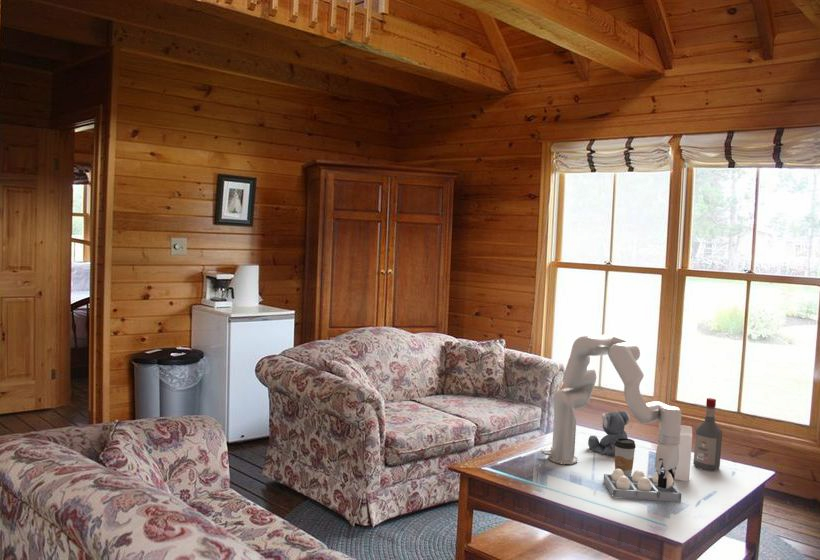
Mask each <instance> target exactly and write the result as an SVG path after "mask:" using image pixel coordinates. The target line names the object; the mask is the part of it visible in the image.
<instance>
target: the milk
mask: <svg viewBox="0 0 820 560" xmlns="http://www.w3.org/2000/svg"><path fill="white" fill-rule="evenodd" d="M692 444H693V427H692V426H690V425H682V424H681V428H680V443H679V461H678V466H677V467H676V470H675V479H674V481H675V480H677V481H682V482H690V475H691V474H690V472H691V458H692V446H693V445H692Z"/></svg>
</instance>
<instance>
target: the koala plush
mask: <svg viewBox="0 0 820 560" xmlns="http://www.w3.org/2000/svg"><path fill="white" fill-rule="evenodd" d="M601 419H602V429H603V431H604V432H605V433H606V434H605V436H603V437H602V438H601V439H600V440H599V439H598V438H599V437H598V436H597V435H590V436H589V437H588V441H587V444H588V447H589V449H590V451H593V450H594V451H593V452H595V451H596V452H595V453H598V452H599V453H598V454H600V453H601V454H600V455H602V454H603V455H602V456H606V455H607V456H609V457H613V456H614V457H615V445H614V444H615V441H616V439H617V438H628V435H627V434H628V433H627V432H626V431H625V427H626V425H628V424H629V422H630V419H631V416H630V413H628V411H627V410H625V409H621V410H619V411H618V412H616V411H611V412H608V413H602V414H601ZM628 439H629V438H628Z"/></svg>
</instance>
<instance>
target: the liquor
mask: <svg viewBox="0 0 820 560" xmlns="http://www.w3.org/2000/svg"><path fill="white" fill-rule="evenodd" d="M716 402H717V400H716V398H711V397H708V398H706V403H705V405H706V409H705V418H704V421H703V422H701V423H700V424H699V425H698V426H697V427H696V428H695V435H694V436H695V438H694V452H693V466H694V467H695V468H696V469H699V470H700V469H701V470H703V471H707V472H714V471H716V470H717V471H718V470H719V469H720V467H721V455H722V442H723V441H722V440H723V430H722V429H721V427H720V426H719V425H718V424H717V423H716V419H715V414H716V405H717V404H716Z"/></svg>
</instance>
